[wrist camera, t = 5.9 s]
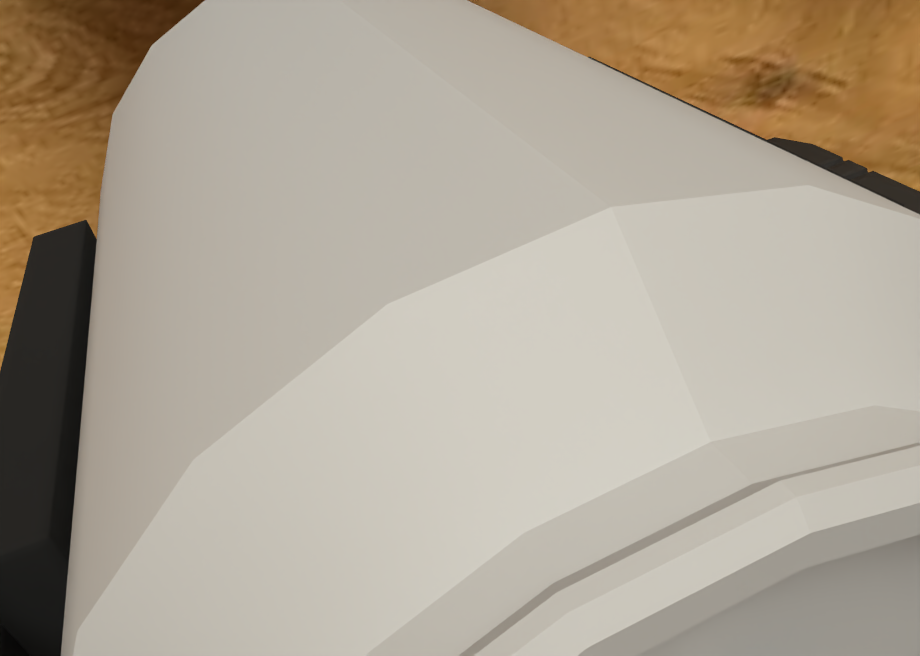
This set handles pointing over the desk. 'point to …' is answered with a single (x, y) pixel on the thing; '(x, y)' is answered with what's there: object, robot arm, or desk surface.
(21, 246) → the desk surface
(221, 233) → the can
